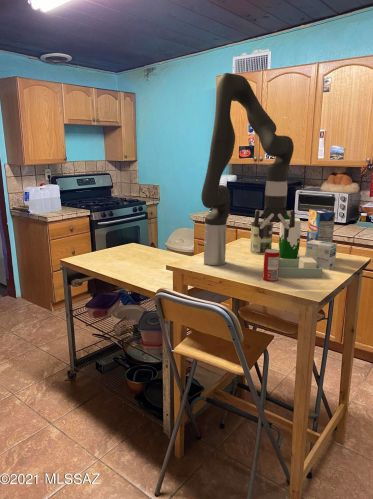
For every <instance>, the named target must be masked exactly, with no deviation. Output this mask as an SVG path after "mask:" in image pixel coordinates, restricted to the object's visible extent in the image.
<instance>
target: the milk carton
mask: <svg viewBox="0 0 373 499" xmlns="http://www.w3.org/2000/svg"><path fill="white" fill-rule="evenodd" d="M284 219H285V221H286V222H287V224H290V217H289V216H288V214H287V215H286V216H285V217H284ZM301 222H302V221H301V220H300V218H299V217H298V218H297V217H295V227H292V228H290V229H289V236H288V238H287V239H284V238H283V236H284V228H285V226H284V225H283V224H282V222H280V225H279V226H280V228H279V235H278V236H279V237H278V250H279V254H280V258H279V259H298V255H299V250H300V245H301V244H300V243H301V231H302V227H301Z"/></svg>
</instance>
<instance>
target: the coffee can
mask: <svg viewBox="0 0 373 499" xmlns="http://www.w3.org/2000/svg"><path fill="white" fill-rule="evenodd" d="M261 222H262V221H261V220H259V223H258V224H260V223H261ZM250 225H251V227H250V229H251V230H250V248H249V252H250V253H251V254H255V255H264V254H265V251H266V250H267V249H272V246H273V244H272V243H273V229H274V222H273V223H270V222H268V223H267V224H266V225H265V226H264V227H263V239H261V238H260V237H259V228H258V227H255V226H254V221H253V222H250Z"/></svg>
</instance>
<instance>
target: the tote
mask: <svg viewBox="0 0 373 499" xmlns="http://www.w3.org/2000/svg"><path fill="white" fill-rule="evenodd" d="M322 272H323V269H322V268H321V267H320V266H319V265H318V264H317V268H299V258H297V259H286V258H279V272H278V278H281V277H282V278H284V277H285V278H287V277H288V278H322V274H323V273H322Z"/></svg>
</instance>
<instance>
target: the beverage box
mask: <svg viewBox="0 0 373 499" xmlns="http://www.w3.org/2000/svg"><path fill="white" fill-rule="evenodd" d="M308 211H309V212H308V221H307V222H308V223H307V232H306V234H307V235H306V244H307V242H308V241H311V240H317V241H324V242H330V243H333V239H334V230H335V218H336V212H335V211H332V210H328V209H325V208H309V210H308ZM304 253H305V254H304V257H305V256H306V252H304Z"/></svg>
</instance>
